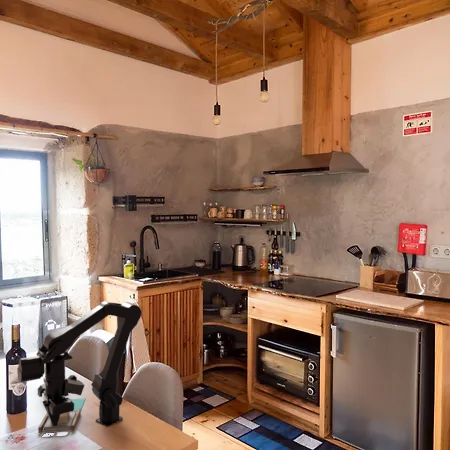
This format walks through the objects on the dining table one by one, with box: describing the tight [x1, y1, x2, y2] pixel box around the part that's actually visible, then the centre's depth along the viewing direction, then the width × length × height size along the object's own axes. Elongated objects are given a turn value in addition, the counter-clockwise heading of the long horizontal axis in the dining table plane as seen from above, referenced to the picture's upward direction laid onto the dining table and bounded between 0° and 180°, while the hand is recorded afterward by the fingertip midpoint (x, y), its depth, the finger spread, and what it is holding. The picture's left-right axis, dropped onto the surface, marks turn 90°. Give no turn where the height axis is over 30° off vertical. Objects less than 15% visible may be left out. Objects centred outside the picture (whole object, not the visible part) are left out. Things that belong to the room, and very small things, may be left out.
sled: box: [43, 411, 77, 431], centre depth 137 cm, size 10×8×5 cm
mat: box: [70, 398, 86, 413], centre depth 150 cm, size 10×10×1 cm
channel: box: [37, 408, 82, 438], centre depth 136 cm, size 14×11×2 cm
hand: (54, 425), depth 130 cm, fingers closed
